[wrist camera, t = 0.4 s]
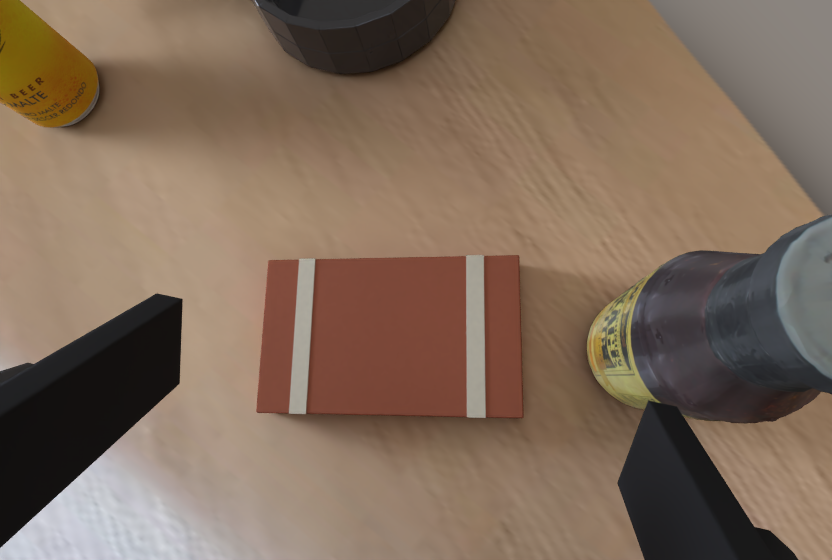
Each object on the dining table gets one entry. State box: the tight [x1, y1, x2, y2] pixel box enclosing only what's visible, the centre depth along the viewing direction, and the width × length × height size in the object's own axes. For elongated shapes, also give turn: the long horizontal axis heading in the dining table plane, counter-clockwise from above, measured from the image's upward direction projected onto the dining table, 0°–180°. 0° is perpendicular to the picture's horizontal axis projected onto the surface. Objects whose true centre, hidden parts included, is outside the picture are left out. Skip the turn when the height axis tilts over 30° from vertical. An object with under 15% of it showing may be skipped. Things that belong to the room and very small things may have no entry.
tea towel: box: [256, 255, 523, 418], centre depth 31 cm, size 9×15×2 cm, turn 89°
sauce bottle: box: [587, 215, 832, 423], centre depth 21 cm, size 6×6×20 cm
